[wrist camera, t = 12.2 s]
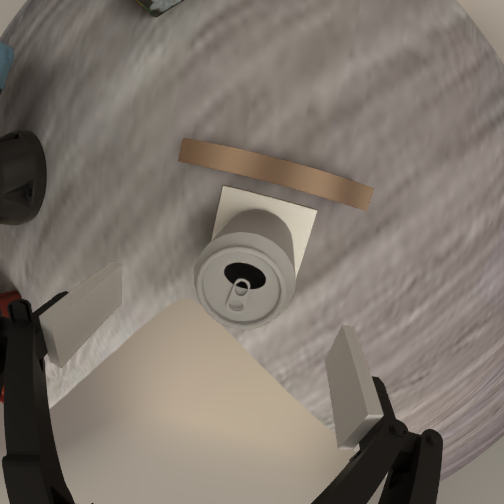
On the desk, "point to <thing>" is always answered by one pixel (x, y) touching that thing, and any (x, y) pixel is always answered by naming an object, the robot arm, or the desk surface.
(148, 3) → the chalk box
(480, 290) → the desk surface
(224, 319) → the can
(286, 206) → the pad
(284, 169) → the walnut plank
